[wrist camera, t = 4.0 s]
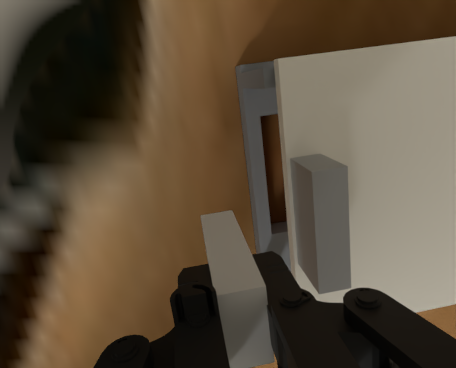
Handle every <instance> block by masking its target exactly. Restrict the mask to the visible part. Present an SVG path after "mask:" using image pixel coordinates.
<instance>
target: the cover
mask: <svg viewBox="0 0 456 368" xmlns="http://www.w3.org/2000/svg"><path fill="white" fill-rule="evenodd" d="M274 71H275V83H276V95H277V107H278V119H279V131H280V143H281V155H282V167H283V179H284V191H285V202H286V214H287V226H288V238H289V250H290V262H291V273H292V275H293V277H294V278H295V280H296V281H297V283H298V285H299V286H300V288H301V289H304V290H307V291H309V292H310V293H311V294H312V295H313V296H314V297H315V299H316V300H317V301H321V302H329V303H343V297H344V295H345V293H346V292H348V291H350V290H351V289H356V288H372V289H376V290H379V291H381V292H383V293H385V294H387V295H389V296H390V297H392V298H393V299H395V300H396V301H398V302H399V303H401V304H402V305H404V306H405V307H407V308H409V309H410V310H412V311H413V312H415V313H416V312H420V311H425V310H430V309H435V308H440V307H444V306H449V305H454V304H456V36H454V37H446V38H438V39H430V40H422V41H414V42H406V43H398V44H390V45H382V46H374V47H367V48H359V49H351V50H343V51H335V52H327V53H319V54H311V55H303V56H295V57H287V58H279V59H275V60H274Z"/></svg>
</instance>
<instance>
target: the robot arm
mask: <svg viewBox="0 0 456 368" xmlns="http://www.w3.org/2000/svg"><path fill="white" fill-rule="evenodd" d="M200 216H201V222H202V229H203V235H204V241H205V247H206V253H207V259H208V264H205V265H199V266H194V267H189V268H183V270H182V271H181V273H180V274H179V276H178V289H176V290H175V291H174V292H173V293H172V295H171V297H170V304H171V308H172V313H173V318H174V323H175V327H174V328H173V329H172V330H171V331H170V332H169V333H167V334H166V335H165V336H163V337H161V338H159V339H157V340H155V341H152V342H150V343H149V340H148V339H147V338H145V337H144V336H141V335H129V336H124V337H122V338H120V339H117V340H115V341H114V342H113V343H111V344H110V345H108V346H107V347H106V349H105V350H104V351H103V352H102V354H101V355H100V357H99V359H98V361H97V362H96V364H95V366H94V368H250V367H255V366H259V365H264V364H268V363H273V362H274V354H275V357H276V359H277V364H278V368H456V339H455V338H453V337H452V336H450V335H449V334H447V333H446V332H444V331H442V330H441V329H439V328H438V327H436V326H435V325H433V324H432V323H430V322H429V321H427V320H425V319H424V318H422V317H421V316H419V315H418V314H416V313H415V312H413V311H412V310H410V309H409V308H407V307H405V306H404V305H402V304H401V303H399V302H398V301H396V300H395V299H393V298H392V297H390V296H389V295H387V294H385V293H383V292H381V291H379V290H376V289H372V288H356V289H351V290H350V291H348V292H346V293H345V295H344V297H343V303H329V302H321V301H317V300H316V299H315V297H314V296H313V295H312V294H311V293H310V292H309V291H307V290H304V289H301V288H300V286H299V285H298V283H297V281H296V280H295V278H294V277H293V275H292V273H291V272H290V270H289V268H288V267H287V265H286V264H285V262H284V260H283V259H282V257H281V256H280V255H278V254H276V253H275V252H273V251H269V252H264V253H258V254H253V255H252V254H251V251H250V249H249V247H248V245H247V243H246V240H245V238H244V236H243V234H242V231H241V229H240V227H239V225H238V222H237V220H236V218H235V216H234V213H233V211H232V210H229V211H223V212H218V213H212V214H206V215H200ZM273 351H274V353H273Z"/></svg>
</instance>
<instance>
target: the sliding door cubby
mask: <svg viewBox="0 0 456 368" xmlns="http://www.w3.org/2000/svg"><path fill="white" fill-rule="evenodd" d="M235 68H236V77H237V86H238V95H239V103H240V112H241V121H242V130H243V139H244V147H245V156H246V165H247V174H248V183H249V192H250V200H251V209H252V218H253V227H254V236H255V244H256V253H257V254H258V253H264V252H269V251H273V252H275V253H276V254H278V255H280V256H281V257H282V259H283V260H284V262H285V264H286V265H287V267H288V268H289V270H290V272H291V262H290V250H289V238H288V226H287V221H285V222H279V223H273V224H271V222H270V212H269V202H268V192H267V182H266V171H265V161H264V151H263V141H262V131H261V121H260V116H265V115H272V114H278V107H277V95H276V83H275V71H274V61H269V62H261V63H253V64H245V65H239V66H236V67H235Z"/></svg>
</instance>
